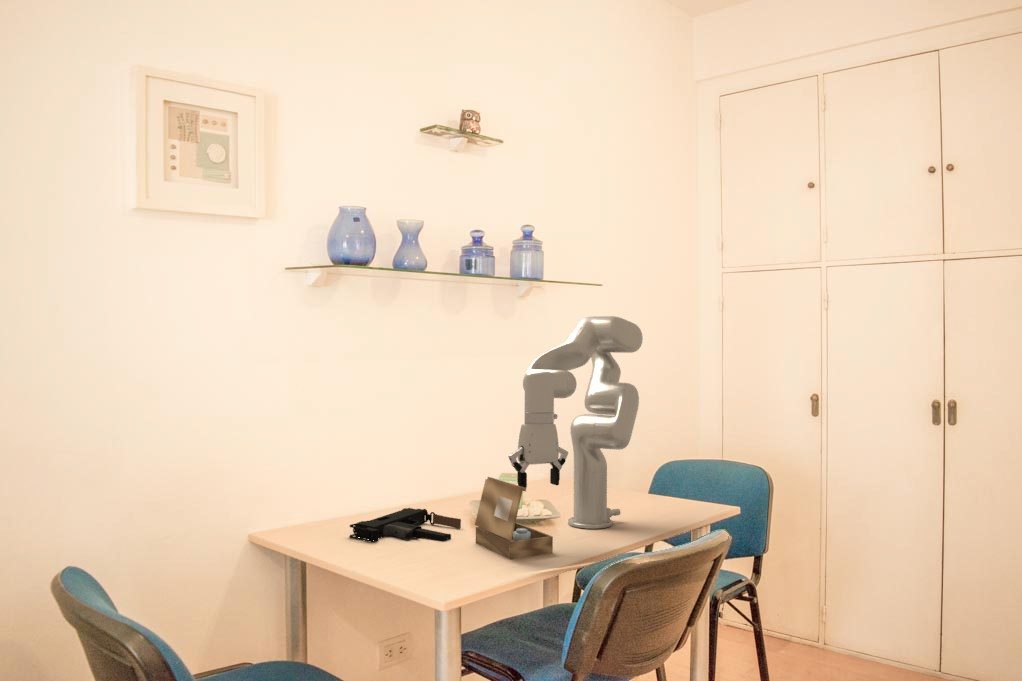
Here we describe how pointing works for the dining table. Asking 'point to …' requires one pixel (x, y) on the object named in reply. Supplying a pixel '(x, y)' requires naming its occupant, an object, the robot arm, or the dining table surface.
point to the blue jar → (521, 534)
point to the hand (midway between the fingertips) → (538, 486)
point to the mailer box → (516, 543)
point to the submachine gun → (404, 526)
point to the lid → (499, 507)
